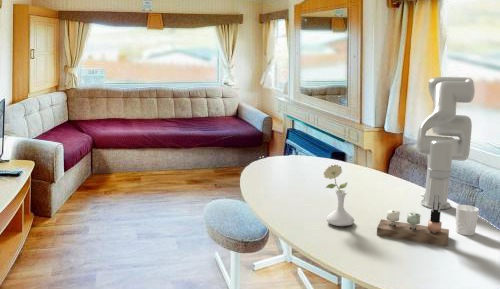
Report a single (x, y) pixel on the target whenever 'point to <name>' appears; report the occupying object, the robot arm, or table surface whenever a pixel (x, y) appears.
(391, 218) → the plunger
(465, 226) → the white cup
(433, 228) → the plunger
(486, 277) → the table surface
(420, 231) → the button board
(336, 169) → the flower in vase
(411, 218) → the plunger
